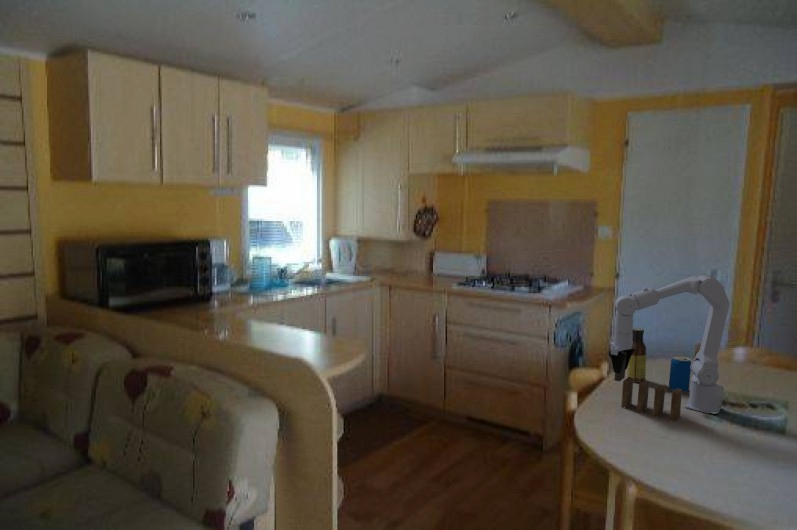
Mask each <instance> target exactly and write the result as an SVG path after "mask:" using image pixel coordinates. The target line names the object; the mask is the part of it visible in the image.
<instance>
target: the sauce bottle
mask: <svg viewBox="0 0 797 530" xmlns="http://www.w3.org/2000/svg"><path fill="white" fill-rule="evenodd" d="M644 333H645V330H644V328H641V327H633V331H632V341H633V344H632V348H633V349H635V351H634V353H633V354H632V356H631V358H630V361H629V364H628V367H627V378H628V377H630V378H633V383H636V384H637V383H638V384H641V383H642V382H643V381H646V373H647V371H646V369H647V346H646V344H645V342H644Z"/></svg>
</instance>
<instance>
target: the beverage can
mask: <svg viewBox="0 0 797 530" xmlns="http://www.w3.org/2000/svg"><path fill="white" fill-rule="evenodd" d="M691 363H692V361H691V358H689V357H687V356H684V355H683V356H682V355H673V356H672V358H671V360H670V367H669V368H670V369H669V378H668V379H669V380H668V388H669V389H670V390H671V391H672V392H673V391H674V390H675V389H682V394H685V393H688V392H690V385H691V373H692V371H691V369H690V366H691Z"/></svg>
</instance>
